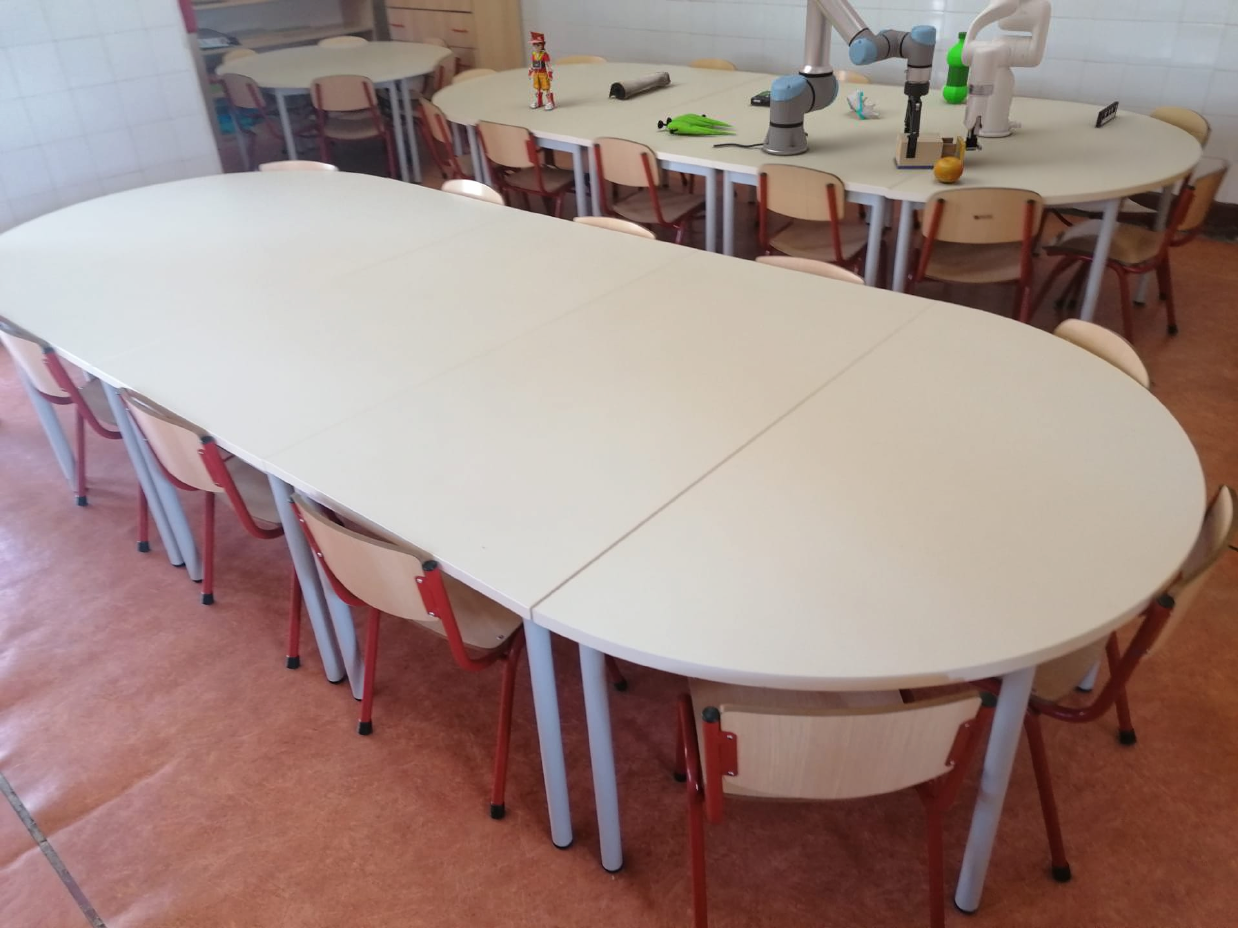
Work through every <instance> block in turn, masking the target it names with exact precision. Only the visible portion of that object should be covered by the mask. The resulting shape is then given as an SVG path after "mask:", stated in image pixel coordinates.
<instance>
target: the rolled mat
mask: <svg viewBox="0 0 1238 928" xmlns="http://www.w3.org/2000/svg"><path fill="white" fill-rule="evenodd" d="M671 83H672V81H671V77H670V74H669V72H668V71H658V72H654V73H649V74H645V75H640V76H637V77H633V78H628V79H623V80H620V81H616V82H613V83H612V84H611V85H610V89H609V95H608V97H609V98H611V97H616V99H620V100H622V101H623V100H626V99H627V98H629V97H630V96H632V95H635V94H636V93H638V92H640V91H643V90H644V89H647V88H650V87H655V86H658V87H659V86H661V87H665V86H669V85H670V84H671Z"/></svg>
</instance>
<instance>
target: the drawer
mask: <svg viewBox="0 0 1238 928" xmlns="http://www.w3.org/2000/svg"><path fill="white" fill-rule="evenodd" d="M941 138H942V140H943V147H942V154H941V159H942V158H945V157H955V158H957V159H959V160H960V161H961V162H962V164H963V165H964V158H965V152H966V150H965V149H976V150H977V151H978V152H980V151H982V150H983V146H982V145H981V143H980V142H979V140H978V141H977V146H976V147H966V140H964V138H963V136H962V135H957V137H956V141H955V143H954V137H953V136H952V137H950V136H949V137H941Z"/></svg>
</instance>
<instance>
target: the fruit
mask: <svg viewBox="0 0 1238 928" xmlns="http://www.w3.org/2000/svg"><path fill="white" fill-rule="evenodd" d="M964 170H965V169H964V163H963V164H962V162H961V161H960V160H959V159H957V158H955V157H945V158H942V159H940V160H939V161H937V163H936V164H935V166H934V168H933V177H935V179H936V180H937V181H938V182H941V183H954V182H956V181H958V180H959V179H960V178H961V177H962V175H963V173H964Z"/></svg>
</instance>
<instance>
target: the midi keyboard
mask: <svg viewBox="0 0 1238 928" xmlns="http://www.w3.org/2000/svg"><path fill="white" fill-rule="evenodd" d="M1119 103H1120V101H1117V100H1116V101H1113V102H1112V103H1111V104H1109V105H1107V106H1106V107H1104V108H1103V109H1101V110H1100V111H1098V114H1097V118H1096V122H1095V127H1096V128H1099V127H1101V126H1102V125H1104V124H1105V123H1106V122H1108V121H1109V120H1111V119H1113V118H1114V117H1116V115H1117V111H1118V107H1119Z"/></svg>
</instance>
